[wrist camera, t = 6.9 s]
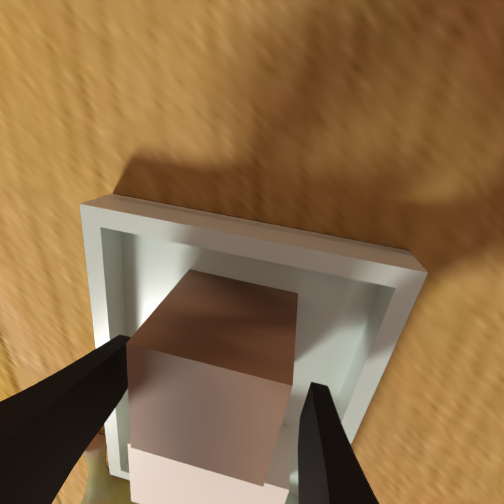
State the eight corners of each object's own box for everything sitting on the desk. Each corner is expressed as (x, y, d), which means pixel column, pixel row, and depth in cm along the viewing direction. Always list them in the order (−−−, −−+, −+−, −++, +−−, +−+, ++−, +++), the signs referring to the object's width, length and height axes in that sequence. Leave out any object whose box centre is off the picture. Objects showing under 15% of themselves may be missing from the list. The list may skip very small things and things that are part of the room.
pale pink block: (292, 428, 16) (289, 490, 13) (276, 482, 18) (270, 544, 15) (156, 392, 17) (127, 443, 14) (156, 447, 19) (131, 501, 16)
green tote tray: (409, 250, 12) (427, 272, 10) (310, 496, 19) (310, 535, 17) (111, 193, 13) (79, 204, 11) (127, 443, 20) (109, 474, 18)
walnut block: (298, 293, 12) (292, 385, 8) (277, 375, 15) (263, 486, 10) (189, 269, 13) (126, 343, 8) (184, 352, 15) (130, 447, 11)
